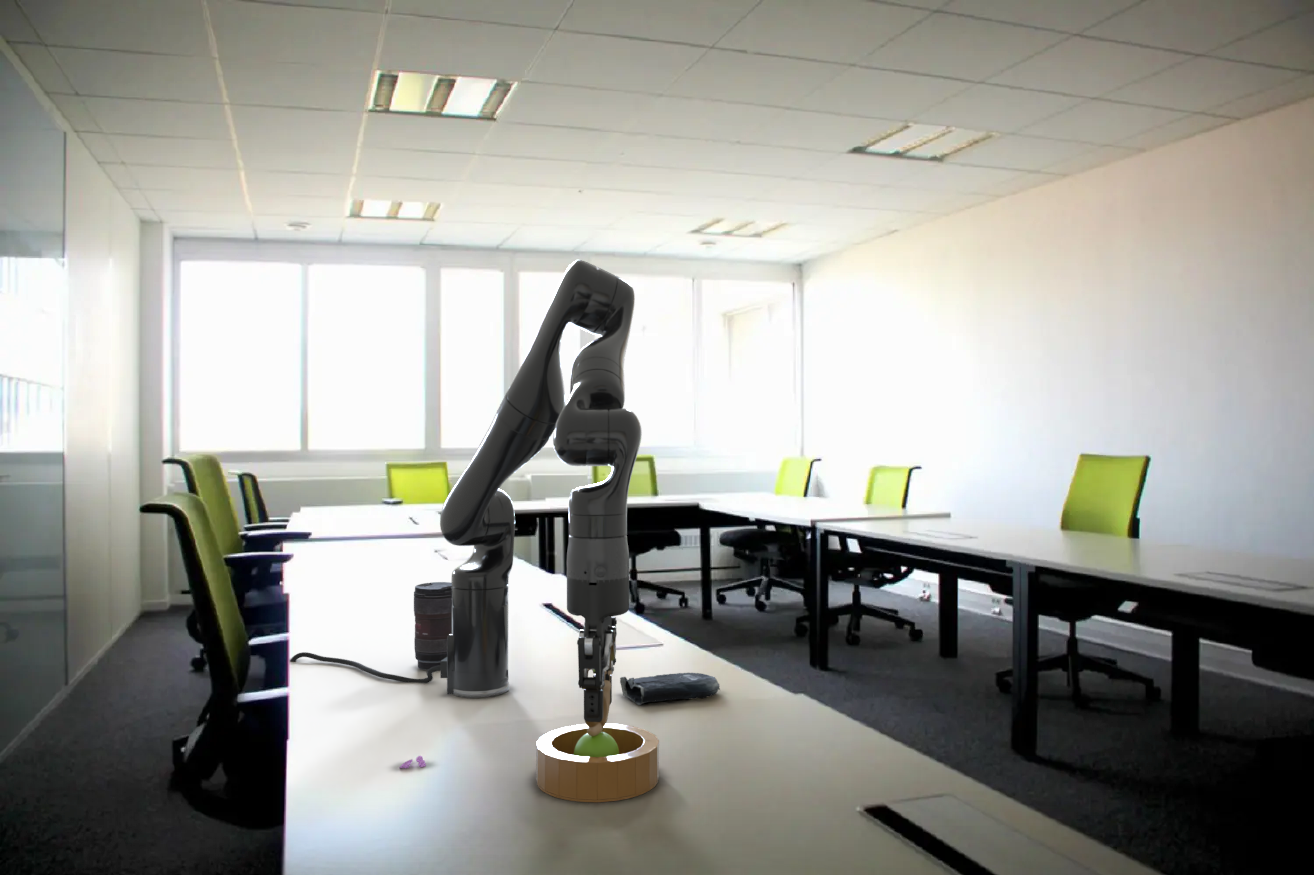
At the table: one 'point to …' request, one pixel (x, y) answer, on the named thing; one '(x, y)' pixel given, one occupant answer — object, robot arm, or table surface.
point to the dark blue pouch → (669, 687)
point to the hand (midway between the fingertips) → (598, 712)
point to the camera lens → (432, 622)
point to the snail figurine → (598, 733)
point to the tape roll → (597, 765)
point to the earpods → (418, 759)
